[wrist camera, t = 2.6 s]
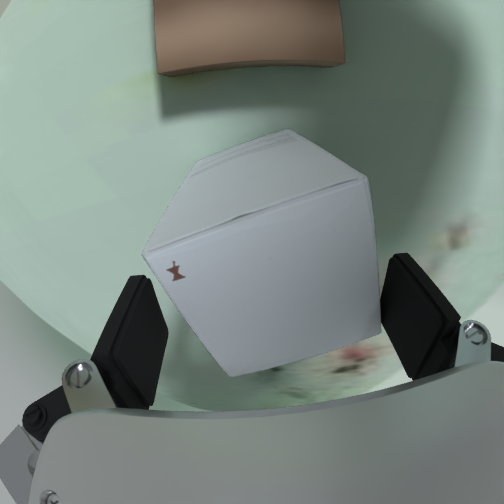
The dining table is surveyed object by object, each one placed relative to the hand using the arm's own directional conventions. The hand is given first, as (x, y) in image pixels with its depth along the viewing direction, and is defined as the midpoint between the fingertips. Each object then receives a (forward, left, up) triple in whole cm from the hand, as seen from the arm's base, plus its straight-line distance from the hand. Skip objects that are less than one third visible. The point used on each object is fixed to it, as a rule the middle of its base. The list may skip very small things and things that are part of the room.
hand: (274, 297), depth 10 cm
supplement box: (0, 0, -12) cm, 12 cm away
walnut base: (-15, 0, -12) cm, 19 cm away
